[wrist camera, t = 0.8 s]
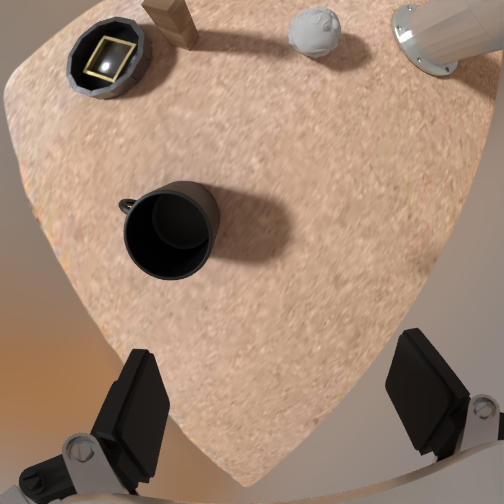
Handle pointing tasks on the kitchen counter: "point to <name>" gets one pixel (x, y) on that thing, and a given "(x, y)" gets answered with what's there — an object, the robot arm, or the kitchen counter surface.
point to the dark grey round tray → (109, 58)
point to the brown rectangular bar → (173, 21)
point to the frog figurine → (315, 32)
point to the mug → (171, 229)
